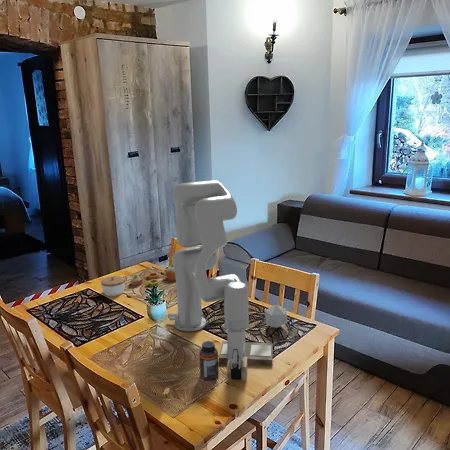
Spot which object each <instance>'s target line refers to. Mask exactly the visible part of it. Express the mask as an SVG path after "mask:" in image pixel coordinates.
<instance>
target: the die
mask: <svg viewBox="0 0 450 450" xmlns="http://www.w3.org/2000/svg"><path fill="white" fill-rule="evenodd" d="M264 317H265V319H264V321H265V324H266V325H267V326H270V327H272V328H275V329H277V328H280V327H282V326H283V325H286V324H288V315H287V308H285V307H282V306H280V305H278V304H274V305H273V306H271V307H268V308H266V309H265V310H264Z"/></svg>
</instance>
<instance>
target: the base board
mask: <svg viewBox="0 0 450 450" xmlns="http://www.w3.org/2000/svg"><path fill="white" fill-rule="evenodd" d="M273 347H274V344H273V343H271V342H252V341H250V342H249V341H248V342H246V341H245V349H244V357H247V365H253V366H254V365H255V366H256V365H258V366H273V359H274V358H273V357H274V356H273V355H274V353H273V352H274V350H273V349H274V348H273ZM218 364H228V359H227V341H226V340H225V341H223V340H222V343H221V346H220V351H219V353H218Z"/></svg>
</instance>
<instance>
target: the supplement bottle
mask: <svg viewBox="0 0 450 450" xmlns="http://www.w3.org/2000/svg"><path fill="white" fill-rule="evenodd" d="M215 346H216V345H215V342H214V341H211V340H207V341H204V342H202V344H201V348H200V349H199V352H198V353H199V373H200V377H201V379H203V380H206V381H211V380H215V379H216V378H217V377H219V374H220V373H219V370H220V369H219V351H218V349H217V347H215Z"/></svg>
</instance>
